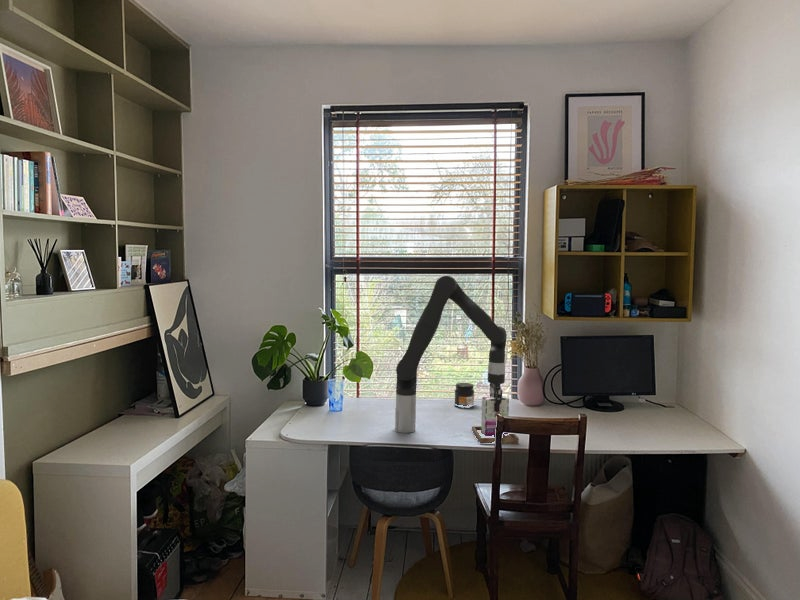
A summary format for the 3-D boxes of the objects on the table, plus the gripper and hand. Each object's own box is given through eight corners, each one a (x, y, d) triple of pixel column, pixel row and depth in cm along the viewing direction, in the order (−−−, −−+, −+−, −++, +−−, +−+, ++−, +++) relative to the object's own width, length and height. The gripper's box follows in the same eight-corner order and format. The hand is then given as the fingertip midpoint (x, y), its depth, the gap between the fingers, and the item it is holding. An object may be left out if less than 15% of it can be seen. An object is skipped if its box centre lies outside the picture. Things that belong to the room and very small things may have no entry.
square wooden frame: (479, 444, 235) (479, 438, 235) (471, 431, 252) (471, 426, 252) (518, 444, 237) (518, 438, 236) (508, 431, 253) (508, 426, 253)
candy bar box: (503, 431, 248) (504, 395, 247) (508, 434, 243) (509, 398, 242) (480, 432, 245) (481, 396, 244) (485, 436, 240) (486, 399, 239)
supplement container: (472, 409, 290) (473, 387, 289) (453, 408, 292) (453, 386, 291) (474, 404, 300) (475, 383, 299) (455, 403, 302) (456, 381, 301)
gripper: (484, 368, 249) (483, 405, 250) (491, 375, 235) (490, 414, 236) (500, 368, 250) (499, 405, 251) (509, 375, 235) (507, 414, 237)
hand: (495, 409), depth 243 cm, fingers closed on candy bar box, 5 cm apart
